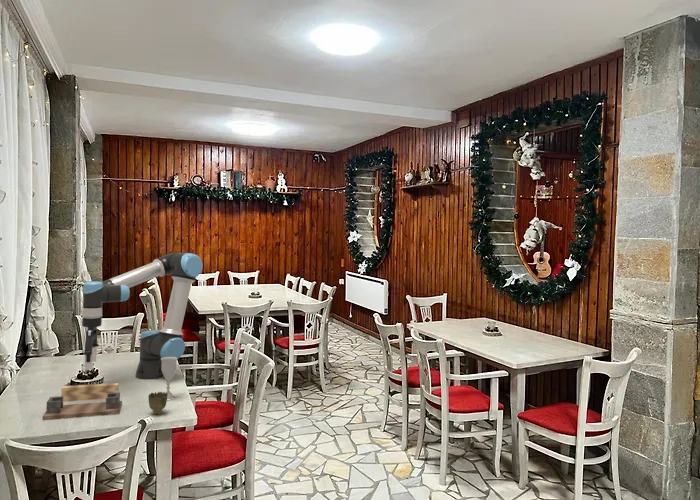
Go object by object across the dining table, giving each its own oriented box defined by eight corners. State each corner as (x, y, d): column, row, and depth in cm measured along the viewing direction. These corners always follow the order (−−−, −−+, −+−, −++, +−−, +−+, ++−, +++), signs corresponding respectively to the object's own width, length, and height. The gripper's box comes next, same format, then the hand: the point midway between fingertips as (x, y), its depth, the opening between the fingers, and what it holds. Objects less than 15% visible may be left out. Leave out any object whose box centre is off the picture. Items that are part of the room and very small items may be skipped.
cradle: (121, 404, 213) (122, 390, 213) (119, 414, 202) (119, 399, 201) (49, 409, 204) (49, 395, 203) (42, 420, 192) (42, 404, 192)
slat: (118, 396, 224) (118, 382, 224) (117, 398, 221) (117, 384, 221) (62, 399, 216) (62, 386, 216) (61, 402, 213) (61, 388, 213)
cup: (151, 410, 207) (151, 391, 207) (169, 410, 208) (169, 391, 208) (145, 416, 200) (145, 396, 200) (164, 416, 200) (164, 397, 200)
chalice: (179, 397, 224) (180, 357, 224) (169, 402, 218) (170, 361, 217) (166, 395, 226) (167, 356, 226) (155, 399, 220) (156, 359, 220)
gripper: (86, 312, 228) (85, 358, 228) (77, 322, 205) (75, 373, 205) (105, 312, 231) (103, 358, 231) (97, 321, 207) (96, 372, 208)
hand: (90, 365), depth 218 cm, fingers open, 13 cm apart
